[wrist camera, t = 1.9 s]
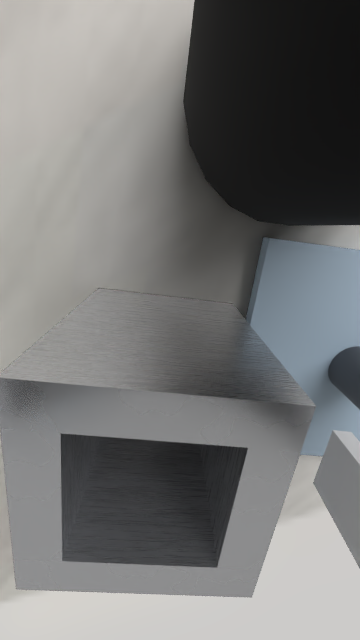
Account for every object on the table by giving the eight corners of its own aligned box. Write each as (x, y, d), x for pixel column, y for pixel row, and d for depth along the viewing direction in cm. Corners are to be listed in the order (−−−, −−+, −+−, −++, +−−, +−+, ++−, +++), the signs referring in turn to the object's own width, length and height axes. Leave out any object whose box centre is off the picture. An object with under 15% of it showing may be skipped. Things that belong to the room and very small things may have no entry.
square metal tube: (94, 403, 19) (16, 589, 9) (98, 288, 16) (-5, 377, 7) (211, 413, 19) (251, 597, 10) (232, 303, 17) (316, 406, 7)
